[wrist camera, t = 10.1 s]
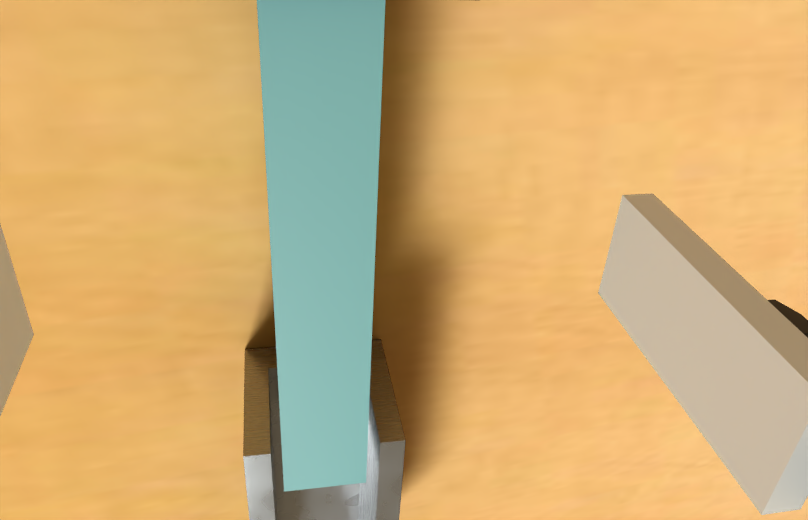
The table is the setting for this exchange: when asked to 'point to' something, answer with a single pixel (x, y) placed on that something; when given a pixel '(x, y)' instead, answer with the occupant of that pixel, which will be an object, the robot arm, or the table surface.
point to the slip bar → (322, 225)
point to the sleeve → (327, 506)
